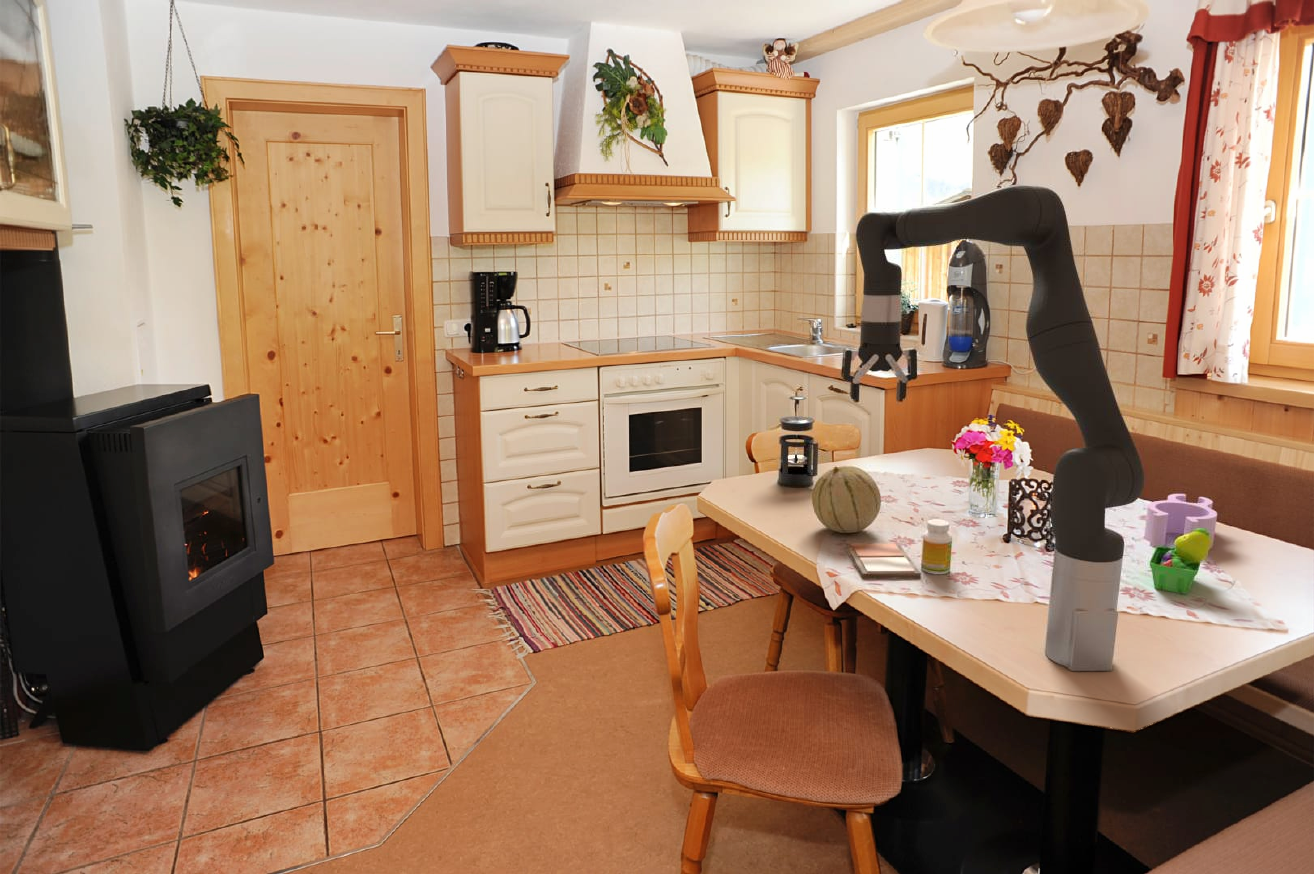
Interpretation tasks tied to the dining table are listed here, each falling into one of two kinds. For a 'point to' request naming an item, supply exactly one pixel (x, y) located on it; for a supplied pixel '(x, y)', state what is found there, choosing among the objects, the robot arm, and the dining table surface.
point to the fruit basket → (1180, 561)
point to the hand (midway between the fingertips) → (877, 401)
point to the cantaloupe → (846, 499)
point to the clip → (1178, 518)
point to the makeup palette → (882, 560)
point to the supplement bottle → (936, 547)
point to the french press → (796, 474)
